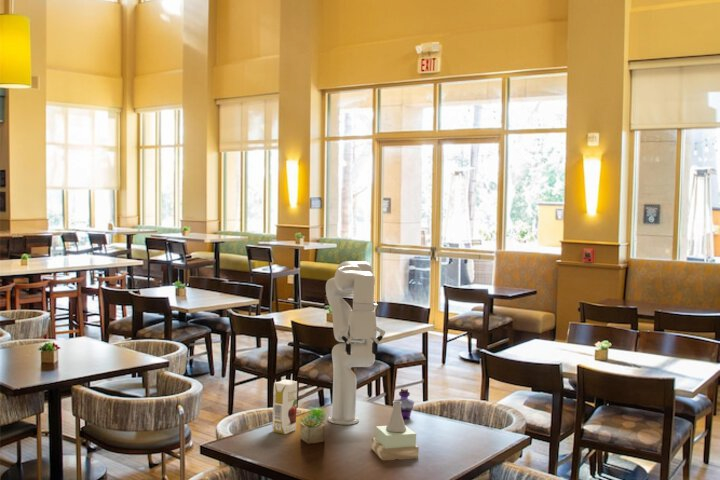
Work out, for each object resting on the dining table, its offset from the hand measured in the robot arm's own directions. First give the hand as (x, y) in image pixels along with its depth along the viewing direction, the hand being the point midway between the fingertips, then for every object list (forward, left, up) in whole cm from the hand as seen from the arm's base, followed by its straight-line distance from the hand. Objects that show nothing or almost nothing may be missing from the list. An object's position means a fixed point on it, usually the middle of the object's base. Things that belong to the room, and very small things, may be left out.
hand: (361, 354), depth 268 cm
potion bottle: (-31, +28, -34) cm, 53 cm away
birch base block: (+12, +10, -34) cm, 37 cm away
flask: (+12, +10, -25) cm, 30 cm away
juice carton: (-20, -24, -34) cm, 46 cm away
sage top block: (+12, +10, -29) cm, 33 cm away
